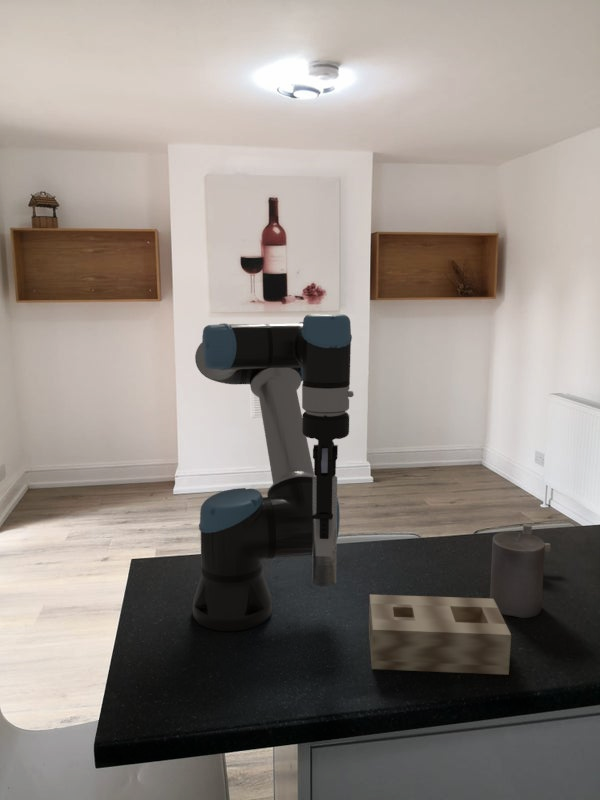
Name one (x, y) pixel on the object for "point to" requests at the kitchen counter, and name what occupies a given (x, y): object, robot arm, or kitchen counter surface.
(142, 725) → the kitchen counter surface
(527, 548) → the pillar candle
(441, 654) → the hole block
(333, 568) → the pin
